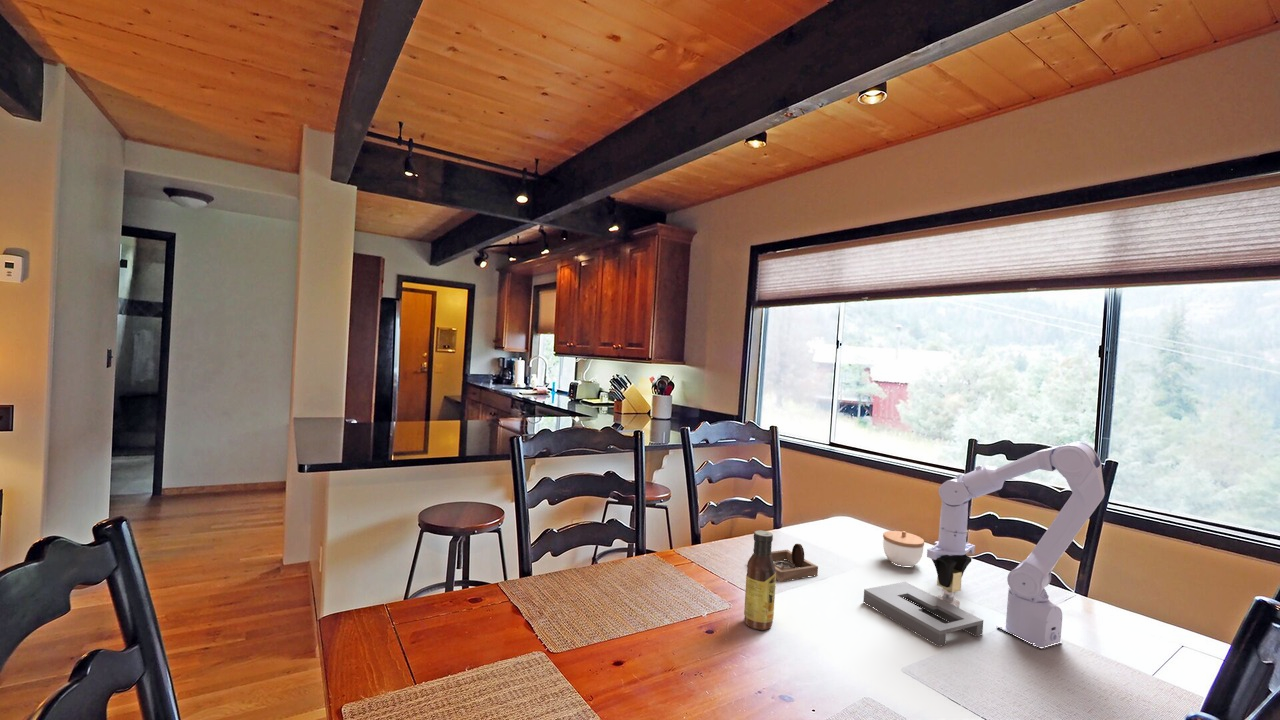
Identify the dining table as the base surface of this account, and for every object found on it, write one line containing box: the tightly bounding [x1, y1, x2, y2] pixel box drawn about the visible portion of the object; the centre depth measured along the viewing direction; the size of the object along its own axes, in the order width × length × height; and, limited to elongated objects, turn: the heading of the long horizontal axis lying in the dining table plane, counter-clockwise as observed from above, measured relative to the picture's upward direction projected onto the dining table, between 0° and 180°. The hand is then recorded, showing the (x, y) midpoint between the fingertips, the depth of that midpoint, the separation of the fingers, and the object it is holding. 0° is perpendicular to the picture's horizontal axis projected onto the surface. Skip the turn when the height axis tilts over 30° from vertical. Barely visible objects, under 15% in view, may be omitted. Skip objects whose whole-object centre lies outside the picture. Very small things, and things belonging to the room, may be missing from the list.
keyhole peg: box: [935, 569, 963, 608], centre depth 133 cm, size 5×5×8 cm
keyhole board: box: [863, 581, 984, 647], centre depth 126 cm, size 20×14×3 cm
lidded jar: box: [882, 530, 925, 567], centre depth 159 cm, size 11×11×9 cm
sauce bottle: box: [743, 529, 777, 631], centre depth 119 cm, size 7×6×20 cm
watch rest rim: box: [751, 549, 819, 583], centre depth 150 cm, size 12×12×2 cm
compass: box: [774, 543, 805, 570], centre depth 149 cm, size 8×8×7 cm
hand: (948, 584), depth 133 cm, fingers closed on keyhole peg, 3 cm apart
